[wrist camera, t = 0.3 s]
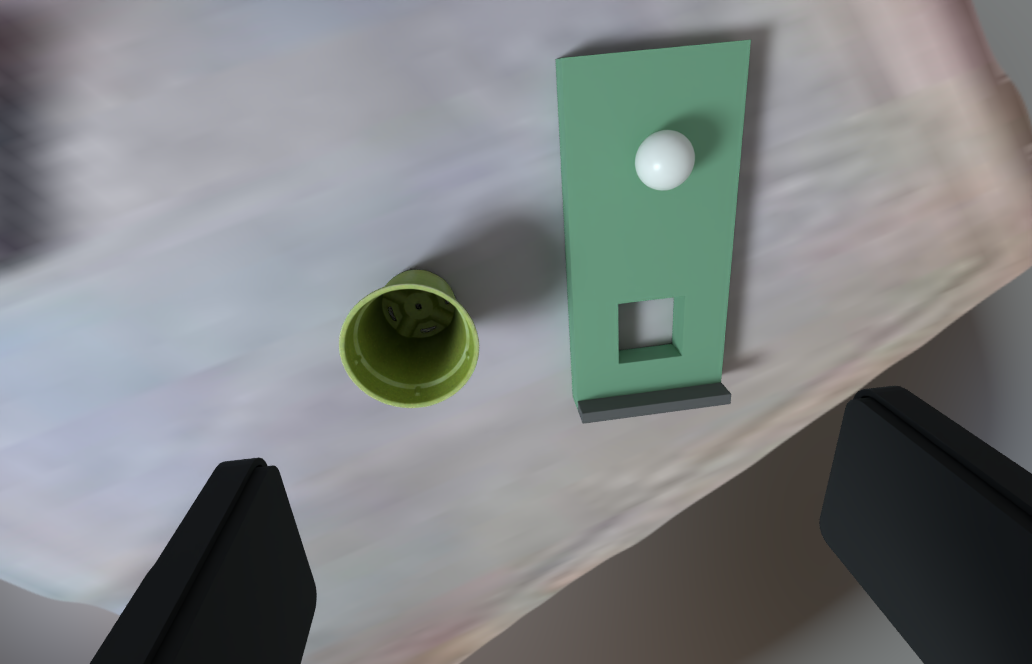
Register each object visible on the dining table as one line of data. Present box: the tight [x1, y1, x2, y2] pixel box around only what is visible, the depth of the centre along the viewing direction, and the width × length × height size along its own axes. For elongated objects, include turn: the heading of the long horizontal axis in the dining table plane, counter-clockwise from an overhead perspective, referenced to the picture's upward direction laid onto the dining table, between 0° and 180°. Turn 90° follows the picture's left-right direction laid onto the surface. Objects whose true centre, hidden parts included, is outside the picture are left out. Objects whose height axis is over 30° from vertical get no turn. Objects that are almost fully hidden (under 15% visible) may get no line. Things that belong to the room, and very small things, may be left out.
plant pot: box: [339, 270, 479, 408], centre depth 40 cm, size 9×9×9 cm
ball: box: [635, 130, 695, 191], centre depth 37 cm, size 4×4×4 cm
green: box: [556, 40, 751, 423], centre depth 42 cm, size 28×13×4 cm, turn 5°
